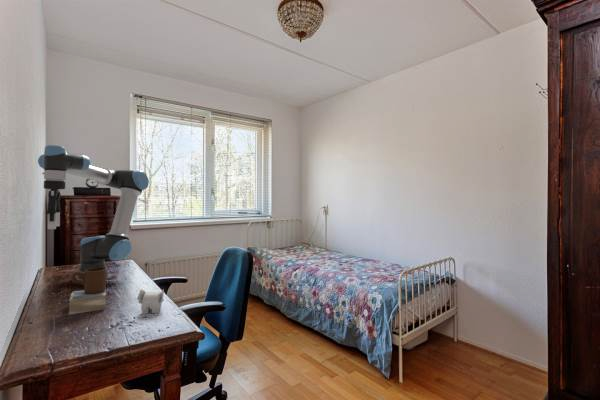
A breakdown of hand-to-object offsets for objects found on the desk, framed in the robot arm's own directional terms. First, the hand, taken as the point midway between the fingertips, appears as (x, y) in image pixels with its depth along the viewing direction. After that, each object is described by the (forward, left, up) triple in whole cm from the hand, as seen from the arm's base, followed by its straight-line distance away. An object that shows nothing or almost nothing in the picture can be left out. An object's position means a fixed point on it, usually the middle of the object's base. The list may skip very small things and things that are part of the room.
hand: (54, 227), depth 136 cm
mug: (+21, +14, -26) cm, 36 cm away
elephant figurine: (+38, +36, -32) cm, 61 cm away
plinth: (+21, +14, -32) cm, 40 cm away
